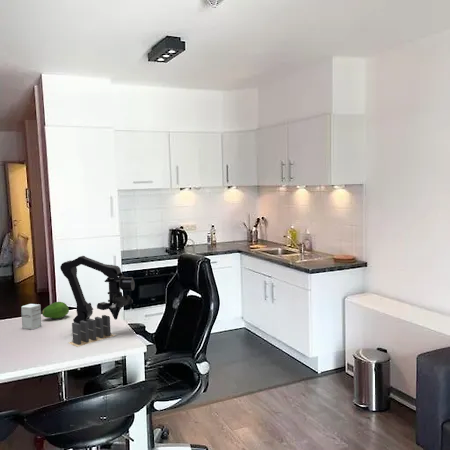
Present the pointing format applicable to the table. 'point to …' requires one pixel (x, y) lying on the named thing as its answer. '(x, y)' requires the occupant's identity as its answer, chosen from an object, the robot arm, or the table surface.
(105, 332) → the domino
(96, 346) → the table surface
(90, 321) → the domino
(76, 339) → the domino
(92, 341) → the board
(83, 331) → the domino
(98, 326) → the domino
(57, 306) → the fruit
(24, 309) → the supplement box
